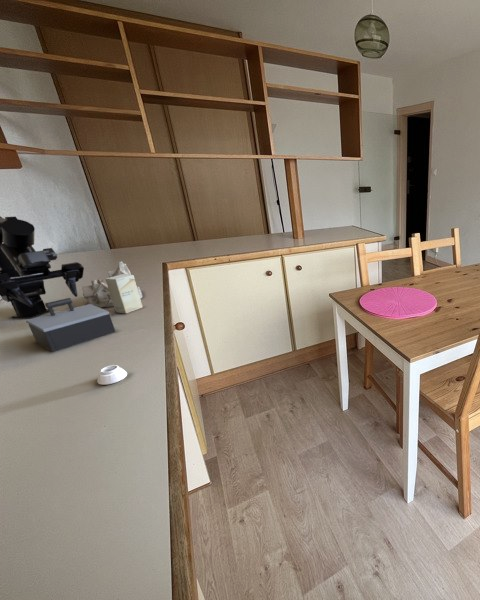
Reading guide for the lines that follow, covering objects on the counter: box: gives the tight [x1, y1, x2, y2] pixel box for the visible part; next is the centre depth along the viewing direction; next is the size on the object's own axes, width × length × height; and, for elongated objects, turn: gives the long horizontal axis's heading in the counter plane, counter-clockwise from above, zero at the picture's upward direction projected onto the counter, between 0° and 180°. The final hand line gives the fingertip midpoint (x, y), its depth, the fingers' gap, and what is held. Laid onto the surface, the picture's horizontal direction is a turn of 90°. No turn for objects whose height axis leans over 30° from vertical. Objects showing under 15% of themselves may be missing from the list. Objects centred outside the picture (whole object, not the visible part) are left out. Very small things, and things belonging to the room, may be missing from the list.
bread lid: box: [25, 297, 110, 332], centre depth 87 cm, size 11×14×5 cm
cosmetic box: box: [104, 274, 144, 314], centre depth 106 cm, size 6×4×12 cm
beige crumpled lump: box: [81, 261, 143, 309], centre depth 114 cm, size 16×16×15 cm
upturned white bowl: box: [96, 364, 128, 386], centre depth 71 cm, size 5×3×5 cm
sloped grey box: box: [28, 313, 116, 353], centre depth 89 cm, size 11×14×6 cm
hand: (55, 300), depth 89 cm, fingers open, 9 cm apart
